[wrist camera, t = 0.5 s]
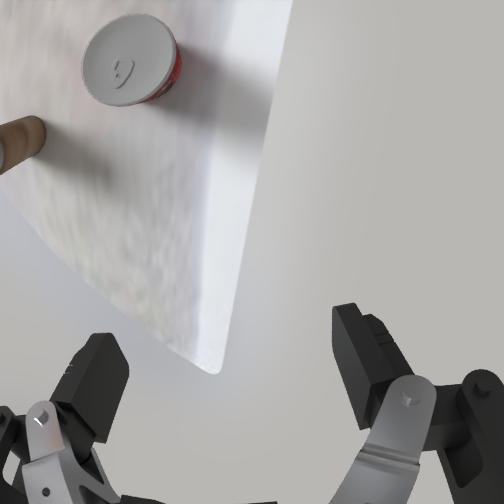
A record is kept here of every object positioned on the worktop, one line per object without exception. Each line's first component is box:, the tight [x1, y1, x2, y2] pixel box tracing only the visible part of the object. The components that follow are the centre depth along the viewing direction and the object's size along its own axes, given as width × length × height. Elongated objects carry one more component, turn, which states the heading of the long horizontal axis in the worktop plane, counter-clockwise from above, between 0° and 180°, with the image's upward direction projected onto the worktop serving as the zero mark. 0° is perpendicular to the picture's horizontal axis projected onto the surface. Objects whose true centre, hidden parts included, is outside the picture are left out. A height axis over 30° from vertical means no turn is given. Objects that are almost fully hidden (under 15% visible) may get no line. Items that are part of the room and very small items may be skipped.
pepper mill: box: [0, 116, 46, 175], centre depth 21 cm, size 5×5×10 cm
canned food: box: [81, 14, 181, 107], centre depth 21 cm, size 8×8×11 cm
